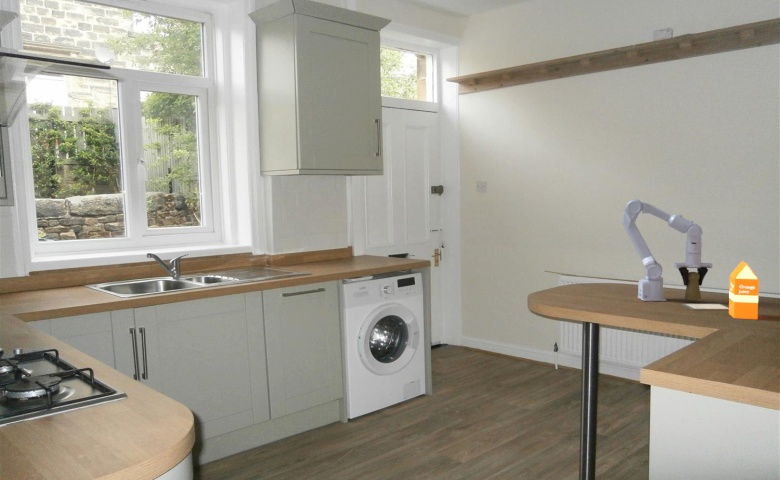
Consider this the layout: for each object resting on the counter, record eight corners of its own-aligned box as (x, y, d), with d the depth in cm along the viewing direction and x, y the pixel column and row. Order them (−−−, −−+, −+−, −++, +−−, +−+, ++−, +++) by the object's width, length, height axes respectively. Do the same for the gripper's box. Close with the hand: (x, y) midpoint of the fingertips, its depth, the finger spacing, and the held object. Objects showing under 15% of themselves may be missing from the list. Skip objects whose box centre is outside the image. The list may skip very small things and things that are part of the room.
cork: (702, 299, 243) (702, 272, 242) (686, 299, 244) (686, 272, 244) (699, 296, 249) (698, 271, 248) (683, 296, 250) (683, 271, 249)
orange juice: (751, 314, 221) (753, 261, 219) (757, 319, 213) (759, 264, 211) (728, 313, 224) (729, 260, 222) (733, 318, 215) (735, 263, 214)
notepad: (692, 310, 230) (693, 308, 230) (682, 304, 241) (682, 303, 241) (733, 310, 228) (733, 309, 228) (720, 304, 239) (720, 303, 239)
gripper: (678, 254, 242) (678, 286, 243) (716, 253, 240) (715, 286, 241) (672, 252, 249) (671, 284, 250) (708, 252, 247) (707, 284, 248)
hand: (692, 285), depth 246 cm, fingers closed on cork, 5 cm apart
